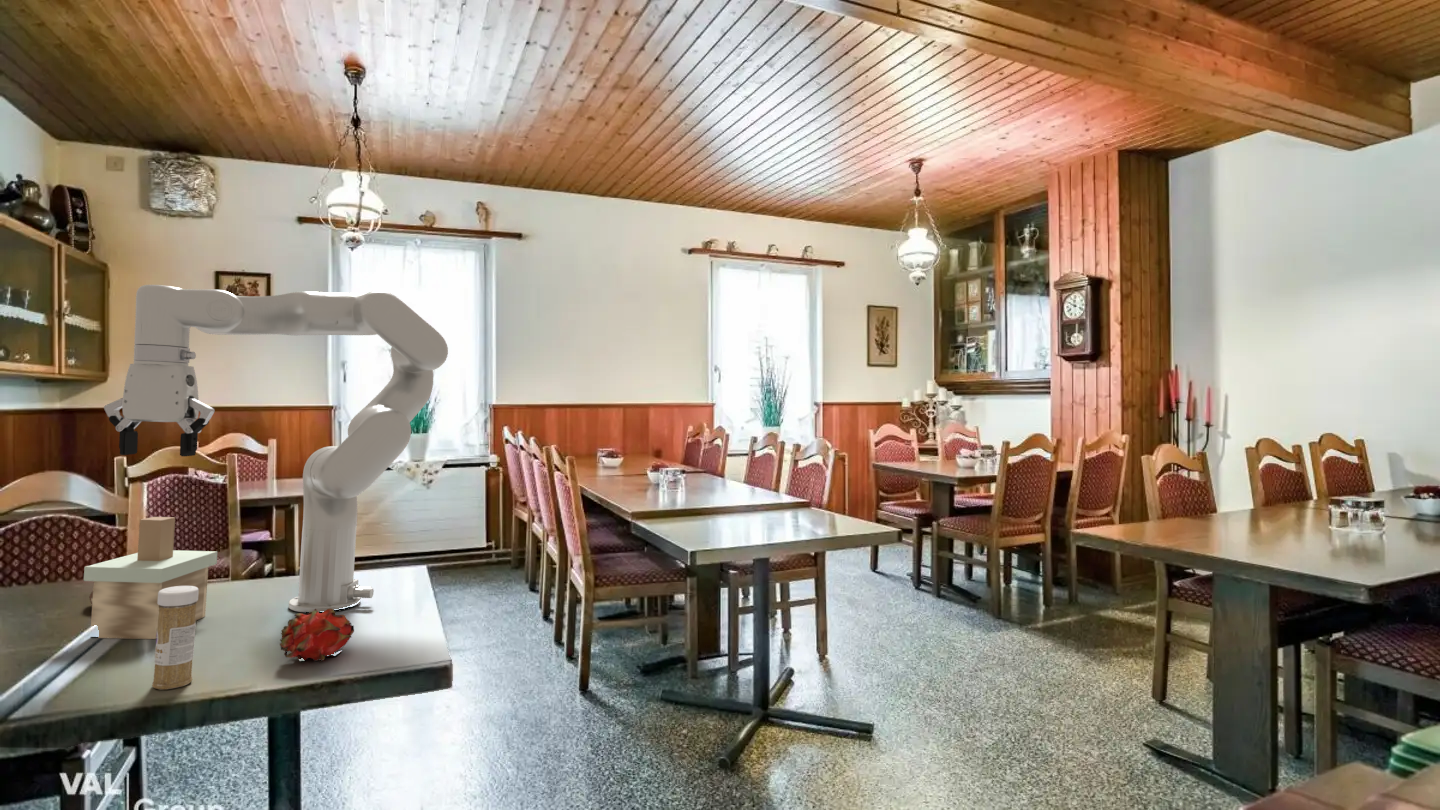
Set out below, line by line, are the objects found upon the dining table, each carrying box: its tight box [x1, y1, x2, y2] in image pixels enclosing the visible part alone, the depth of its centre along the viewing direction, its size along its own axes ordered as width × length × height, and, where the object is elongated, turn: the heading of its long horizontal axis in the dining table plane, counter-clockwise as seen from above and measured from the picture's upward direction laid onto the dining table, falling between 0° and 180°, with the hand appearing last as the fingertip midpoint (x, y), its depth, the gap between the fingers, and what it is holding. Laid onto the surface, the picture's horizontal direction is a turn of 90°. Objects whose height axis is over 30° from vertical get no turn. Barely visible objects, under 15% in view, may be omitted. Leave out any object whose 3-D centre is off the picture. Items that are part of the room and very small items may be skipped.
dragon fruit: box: [279, 608, 355, 661], centre depth 113 cm, size 8×8×12 cm
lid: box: [83, 516, 218, 583], centre depth 124 cm, size 12×15×9 cm
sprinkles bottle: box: [151, 586, 199, 690], centre depth 100 cm, size 5×5×13 cm
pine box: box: [90, 567, 209, 640], centre depth 124 cm, size 10×13×11 cm
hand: (158, 455), depth 124 cm, fingers open, 9 cm apart
